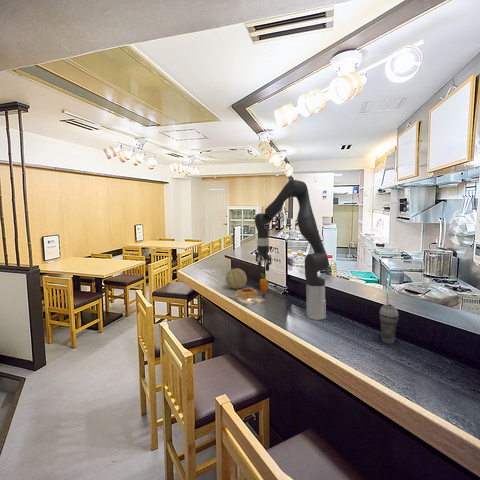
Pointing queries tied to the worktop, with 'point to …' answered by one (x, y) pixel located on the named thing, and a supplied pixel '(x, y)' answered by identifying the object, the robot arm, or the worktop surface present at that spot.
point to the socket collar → (247, 294)
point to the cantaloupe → (236, 278)
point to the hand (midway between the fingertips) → (263, 269)
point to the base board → (247, 303)
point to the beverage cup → (388, 322)
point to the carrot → (263, 284)
